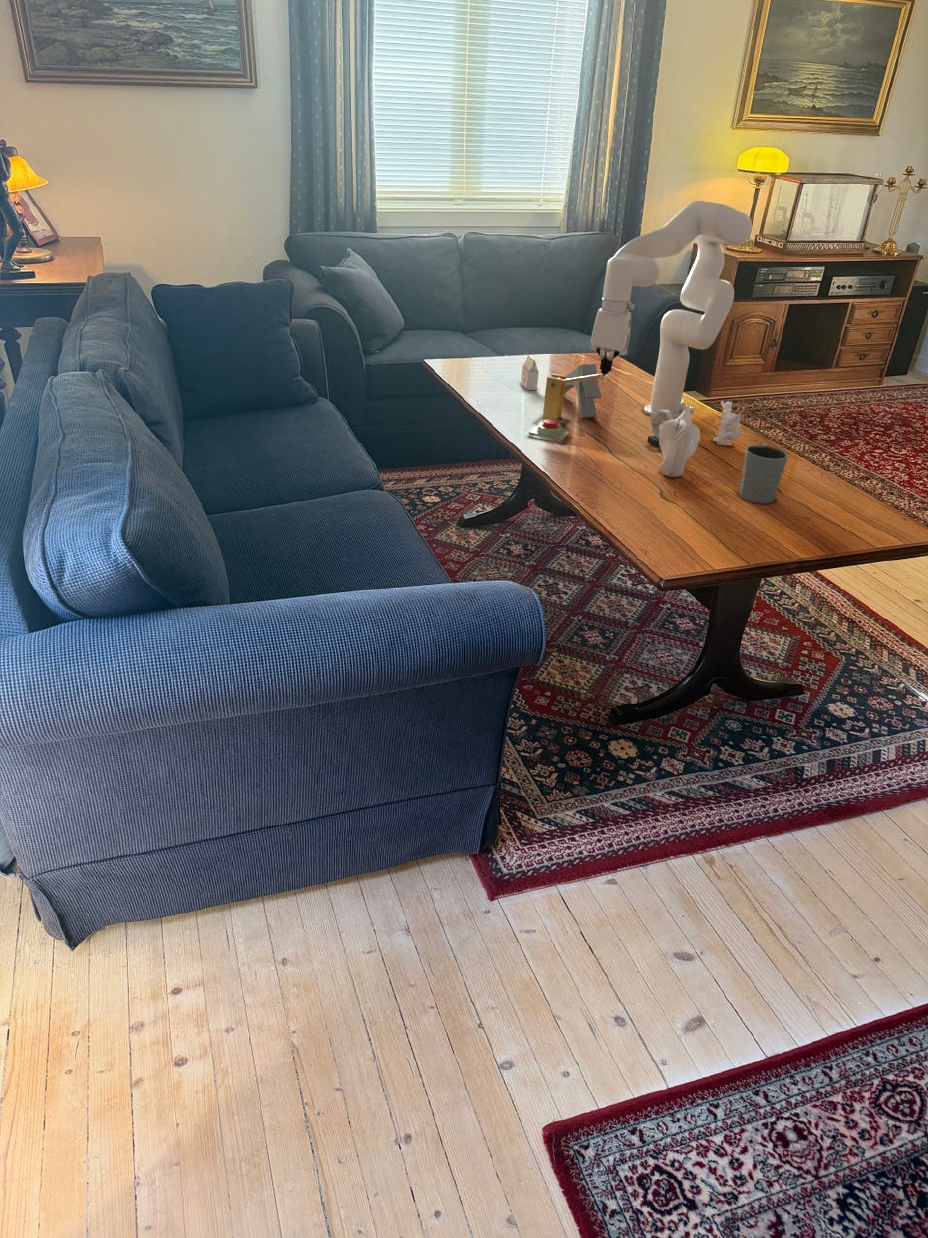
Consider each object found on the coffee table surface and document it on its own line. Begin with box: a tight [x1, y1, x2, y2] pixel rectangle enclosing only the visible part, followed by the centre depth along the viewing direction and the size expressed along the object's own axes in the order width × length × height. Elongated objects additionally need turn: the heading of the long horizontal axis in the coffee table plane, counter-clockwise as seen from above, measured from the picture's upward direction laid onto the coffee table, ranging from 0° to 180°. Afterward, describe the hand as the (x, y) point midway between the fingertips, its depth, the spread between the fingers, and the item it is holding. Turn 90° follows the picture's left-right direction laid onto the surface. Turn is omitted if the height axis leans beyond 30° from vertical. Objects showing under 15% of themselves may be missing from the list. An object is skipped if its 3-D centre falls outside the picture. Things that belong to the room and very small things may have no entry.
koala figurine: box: [712, 400, 742, 446], centre depth 242 cm, size 8×7×12 cm
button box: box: [528, 422, 571, 445], centre depth 240 cm, size 10×7×4 cm
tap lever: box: [559, 371, 611, 386], centre depth 244 cm, size 17×6×2 cm, turn 66°
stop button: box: [542, 419, 559, 429], centre depth 239 cm, size 4×4×2 cm
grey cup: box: [739, 444, 789, 505], centre depth 209 cm, size 10×10×12 cm
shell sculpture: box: [659, 404, 701, 478], centre depth 216 cm, size 8×8×18 cm
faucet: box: [564, 363, 602, 420], centre depth 263 cm, size 6×17×30 cm
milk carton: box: [520, 354, 540, 391], centre depth 282 cm, size 4×7×10 cm, turn 13°
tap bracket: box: [542, 373, 566, 422], centre depth 250 cm, size 8×9×14 cm
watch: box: [646, 409, 675, 448], centre depth 236 cm, size 6×8×11 cm
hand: (605, 372), depth 239 cm, fingers closed
